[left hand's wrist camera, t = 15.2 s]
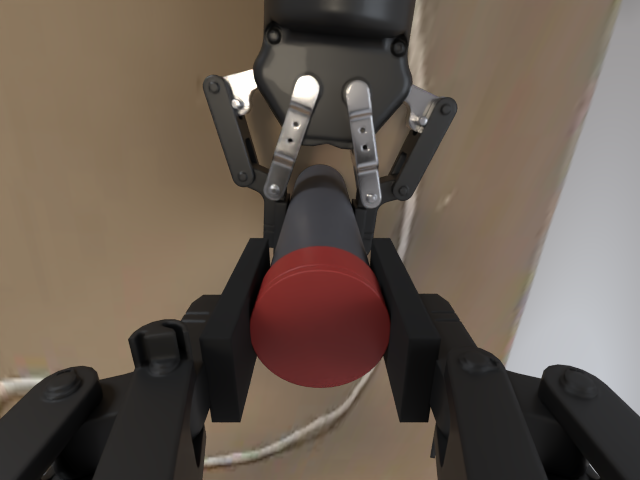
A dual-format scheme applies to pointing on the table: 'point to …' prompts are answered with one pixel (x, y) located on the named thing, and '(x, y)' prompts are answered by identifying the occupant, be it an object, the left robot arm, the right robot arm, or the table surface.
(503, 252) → the table surface
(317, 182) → the grey upright cylinder
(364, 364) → the lid
